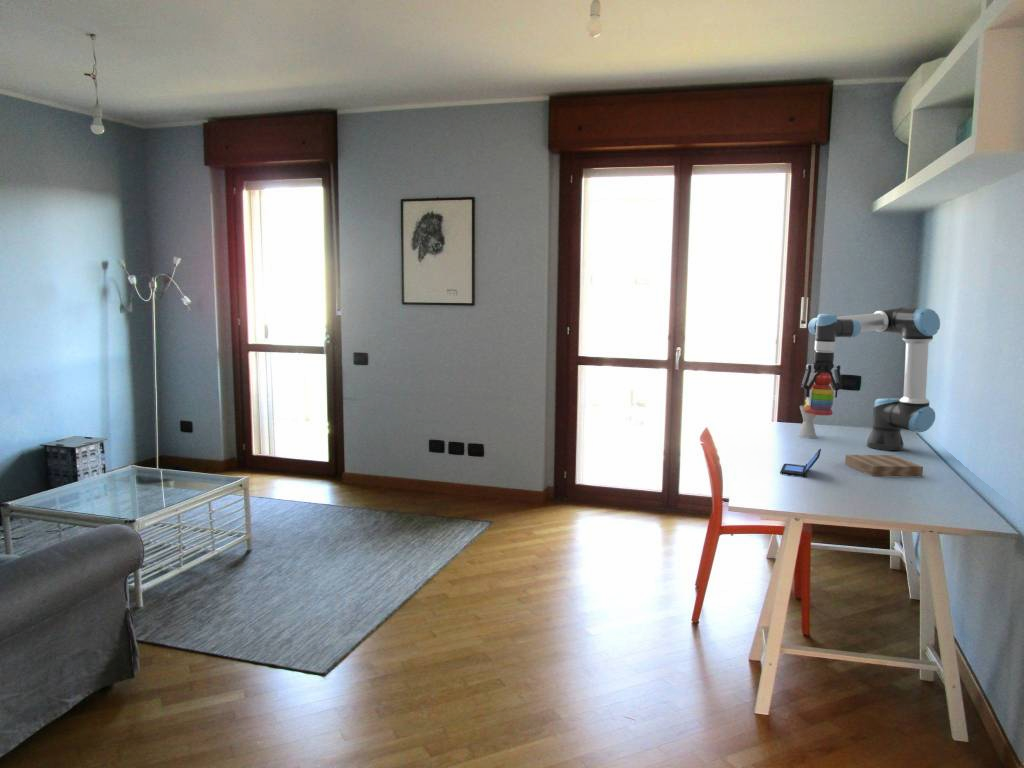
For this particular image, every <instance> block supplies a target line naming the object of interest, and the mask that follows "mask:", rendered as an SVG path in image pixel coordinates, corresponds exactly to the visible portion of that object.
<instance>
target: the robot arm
mask: <svg viewBox="0 0 1024 768" xmlns="http://www.w3.org/2000/svg"><path fill="white" fill-rule="evenodd" d="M807 327H808V331H809V333H810V334H811V335H814V336H815V340H814V351H815V352H814V353H813V363H812V364H809V363H808V364H805V372H804V374H803V375H804V376H803V377H802V381H801V384H800V388H802V389H804V397H805V398H806V399H805V400H806V403H805V404H806V405H809V406H811V397H812V390H810V388H811V387H812V385H813V383H814V382H815V380H816V378H817V376H819V374H820V373H821V372H827V373H829V374H830V376H831V382H830V384H829V385H830V387H831V389H832V390H833V404H832V407H835V401H836V398H837V397H838V391H840V390H841V389H843V382H842V375H841V365H839V364H834V359H835V353H834V352H835V348H836V347H835V345H836V338H849V339H850V338H856V337H858V335H859V334H861V332H863V333H864V332H871V331H872V332H873V331H875V332H877V333H884V332H885V333H894V334H900V335H901V339H902V341H903V342H904V343H905V356H904V376H903V377H904V379H903V396H901V398H876V399H875V401H874V406H873V415H872V416H873V417H872V428H871V432H870V434H869V436H868V438H867V440H866V447H868V446H869V447H868V448H870V447H872V449H874V448H876V450H880V449H882V450H881V451H889V450H900V451H903V450H904V447H905V446H904V441H903V436H902V431H901V429H902V430H907V431H910V432H914V433H915V432H918V433H924V432H926V431H928V430H929V429H930V428H931V427H932V426H933V425H934V423H935V420H936V411H935V409H933V408H932V407H931V406H930V400H929V399H927V397H926V396H927V382H928V381H927V378H928V377H927V376H928V361H929V360H928V358H929V343H930V342H932V341H933V340H934V339H933V338H934V336H935V335H936V334H937V333H938V331H939V330H940V327H941V319H940V315H939V314H938V313H937V312H936V311H935V310H933V309H931V308H927V307H926V308H925V307H905V306H904V307H895V308H888V309H881V310H876V311H875V312H874V313H864V314H863V313H862V314H853V315H842V316H837V314H831V313H830V314H828V313H820V314H818V315H817V316H816V317H813V318H811V320H810V321H809V323H808V325H807ZM812 368H814V369H815V370H814V372H813V374H812V376H811V378H810V379H809V377H810V374H811V370H812ZM832 370H834V371H833V372H834V374H833V372H832ZM816 372H817V373H816ZM833 375H834V376H833ZM814 384H815V383H814Z"/></svg>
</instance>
